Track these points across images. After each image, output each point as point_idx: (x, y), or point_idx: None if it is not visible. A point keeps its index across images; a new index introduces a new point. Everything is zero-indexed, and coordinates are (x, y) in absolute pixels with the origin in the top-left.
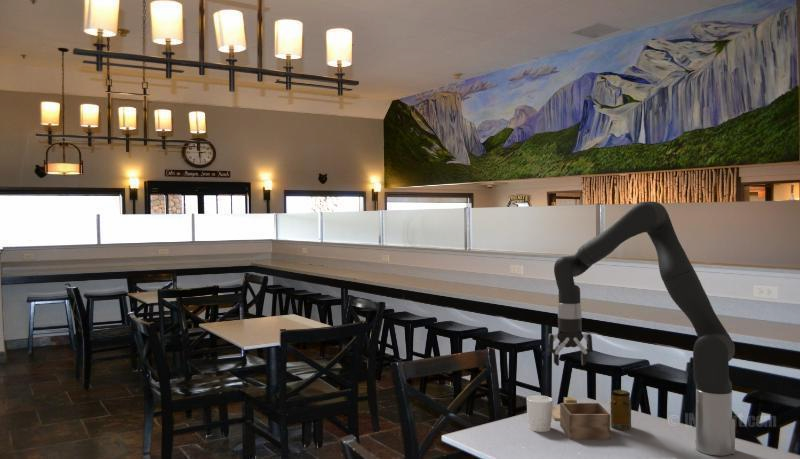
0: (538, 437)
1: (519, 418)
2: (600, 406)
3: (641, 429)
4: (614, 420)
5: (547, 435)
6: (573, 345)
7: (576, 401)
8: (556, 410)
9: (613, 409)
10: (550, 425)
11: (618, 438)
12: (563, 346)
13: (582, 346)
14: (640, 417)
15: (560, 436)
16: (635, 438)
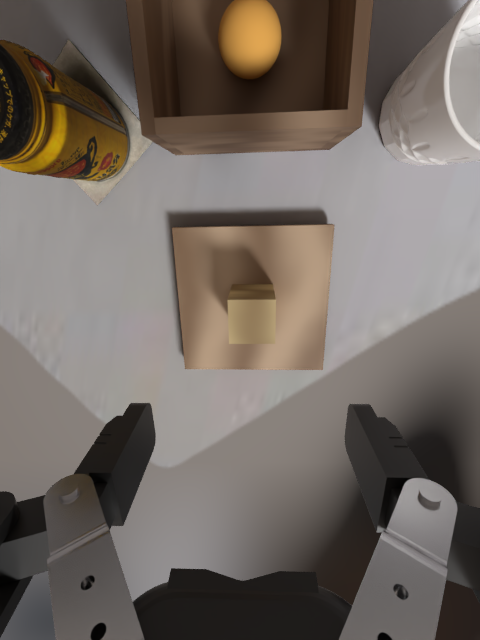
0: None
1: (449, 276)
2: (140, 53)
3: None
4: (99, 102)
5: (413, 42)
6: (197, 600)
7: (229, 298)
8: (299, 324)
9: (77, 92)
10: (396, 85)
11: (116, 12)
12: (375, 575)
13: (58, 563)
14: (11, 293)
15: None
16: (46, 17)
